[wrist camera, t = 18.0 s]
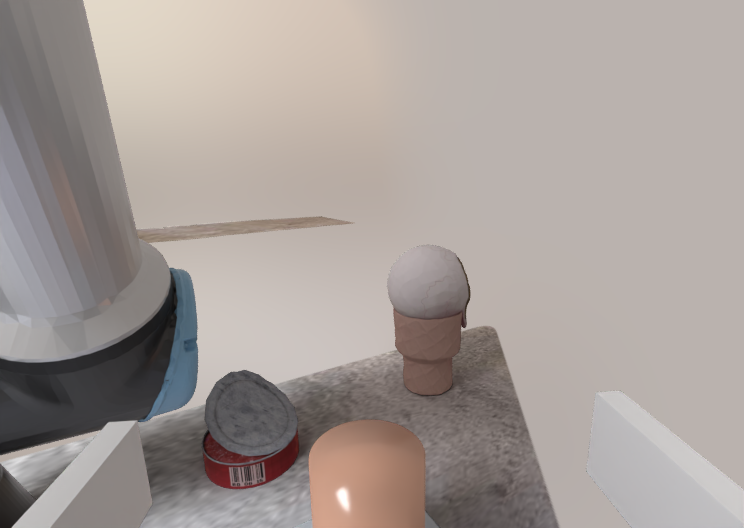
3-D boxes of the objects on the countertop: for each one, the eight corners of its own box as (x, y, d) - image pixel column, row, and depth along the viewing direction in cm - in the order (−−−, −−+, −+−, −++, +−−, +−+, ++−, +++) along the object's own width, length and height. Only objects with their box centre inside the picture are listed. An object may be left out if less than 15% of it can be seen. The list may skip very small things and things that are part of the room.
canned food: (276, 459, 50) (306, 383, 50) (291, 512, 40) (328, 419, 41) (182, 441, 45) (216, 358, 46) (174, 496, 36) (218, 392, 37)
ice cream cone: (481, 396, 53) (486, 249, 49) (404, 411, 51) (401, 256, 46) (446, 361, 63) (448, 236, 59) (380, 371, 61) (377, 242, 56)
